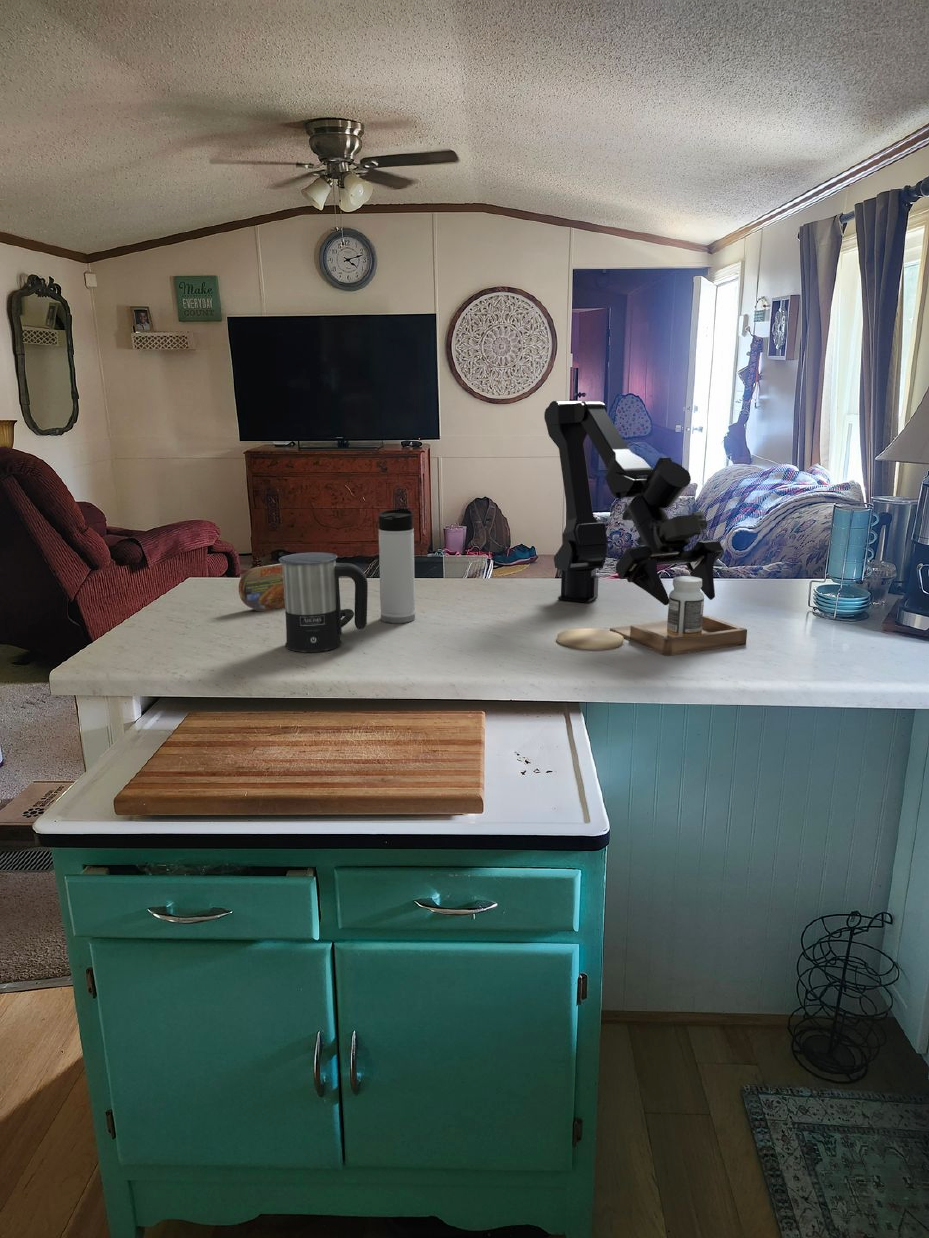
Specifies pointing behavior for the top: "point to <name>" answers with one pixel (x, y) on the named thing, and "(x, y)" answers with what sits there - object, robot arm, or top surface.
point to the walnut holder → (659, 641)
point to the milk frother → (319, 600)
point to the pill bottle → (685, 607)
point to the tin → (263, 588)
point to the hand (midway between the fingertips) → (690, 601)
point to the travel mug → (396, 566)
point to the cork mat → (590, 639)
